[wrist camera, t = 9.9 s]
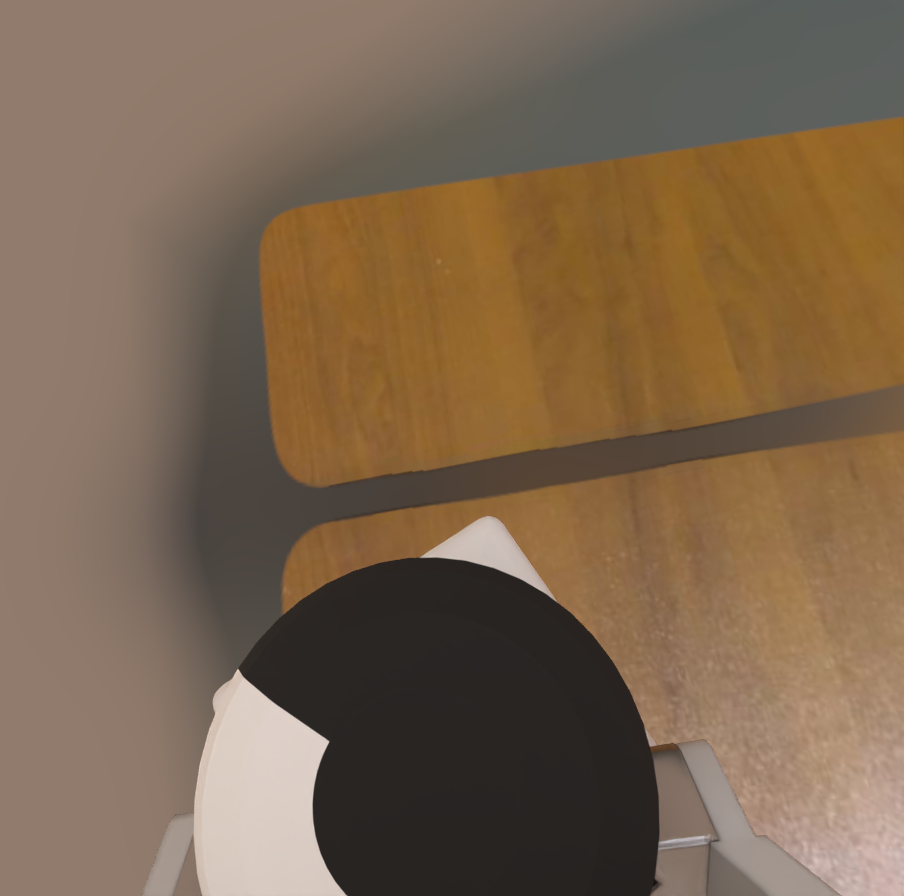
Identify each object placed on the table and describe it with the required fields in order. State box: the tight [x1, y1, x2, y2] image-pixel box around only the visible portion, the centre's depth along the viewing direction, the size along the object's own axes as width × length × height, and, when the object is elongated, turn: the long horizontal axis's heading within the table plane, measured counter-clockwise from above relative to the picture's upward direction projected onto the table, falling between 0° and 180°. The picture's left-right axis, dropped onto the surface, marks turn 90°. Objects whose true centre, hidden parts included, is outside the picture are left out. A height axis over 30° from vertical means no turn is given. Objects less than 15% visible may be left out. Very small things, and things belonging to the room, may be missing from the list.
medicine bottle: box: [194, 516, 660, 896], centre depth 13 cm, size 7×7×12 cm
